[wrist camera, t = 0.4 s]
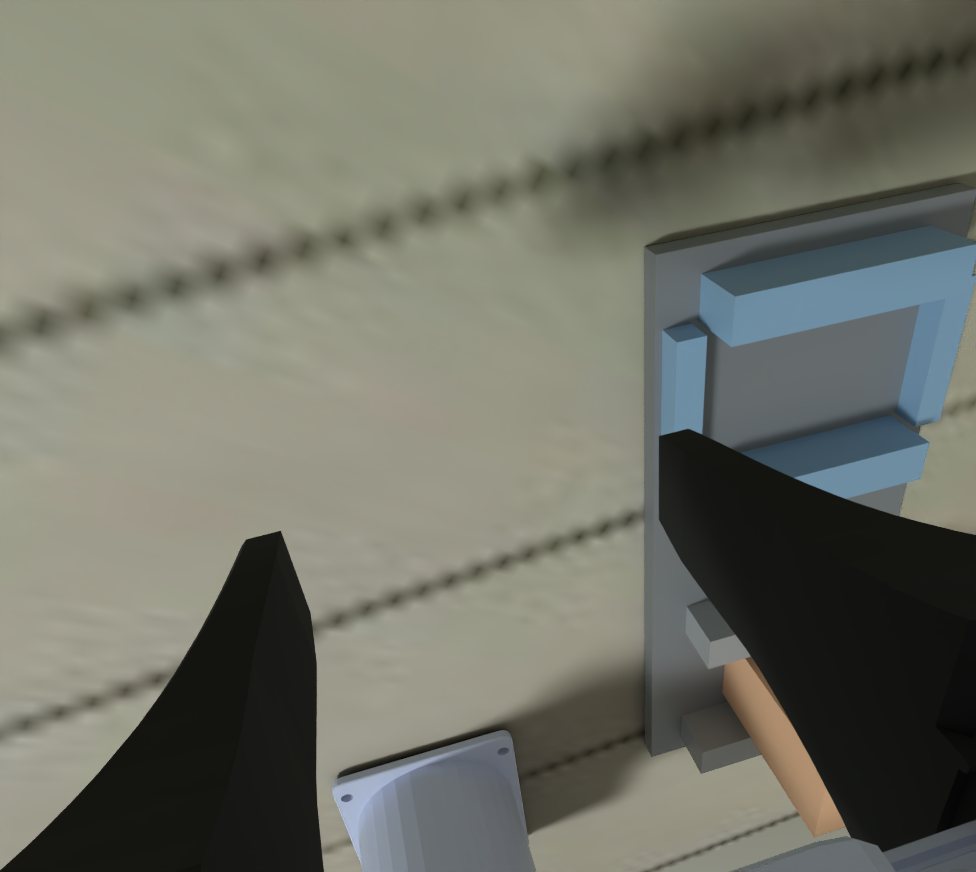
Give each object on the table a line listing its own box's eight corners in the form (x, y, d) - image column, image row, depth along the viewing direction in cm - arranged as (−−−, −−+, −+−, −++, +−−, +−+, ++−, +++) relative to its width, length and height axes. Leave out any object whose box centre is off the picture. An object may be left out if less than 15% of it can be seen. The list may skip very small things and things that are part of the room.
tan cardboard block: (800, 669, 35) (905, 806, 29) (722, 692, 34) (814, 837, 28) (810, 609, 32) (927, 744, 27) (727, 633, 32) (828, 777, 26)
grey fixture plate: (845, 681, 38) (882, 726, 35) (644, 742, 36) (670, 794, 34) (958, 183, 24) (1031, 204, 22) (644, 246, 22) (687, 276, 20)
